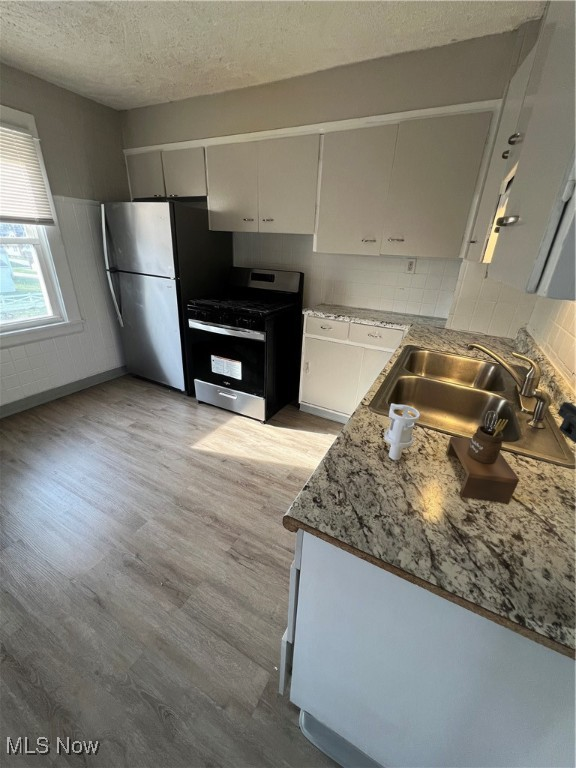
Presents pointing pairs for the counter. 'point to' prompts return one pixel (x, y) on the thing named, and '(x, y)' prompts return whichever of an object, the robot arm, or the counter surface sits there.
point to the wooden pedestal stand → (483, 474)
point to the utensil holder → (487, 442)
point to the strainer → (400, 430)
